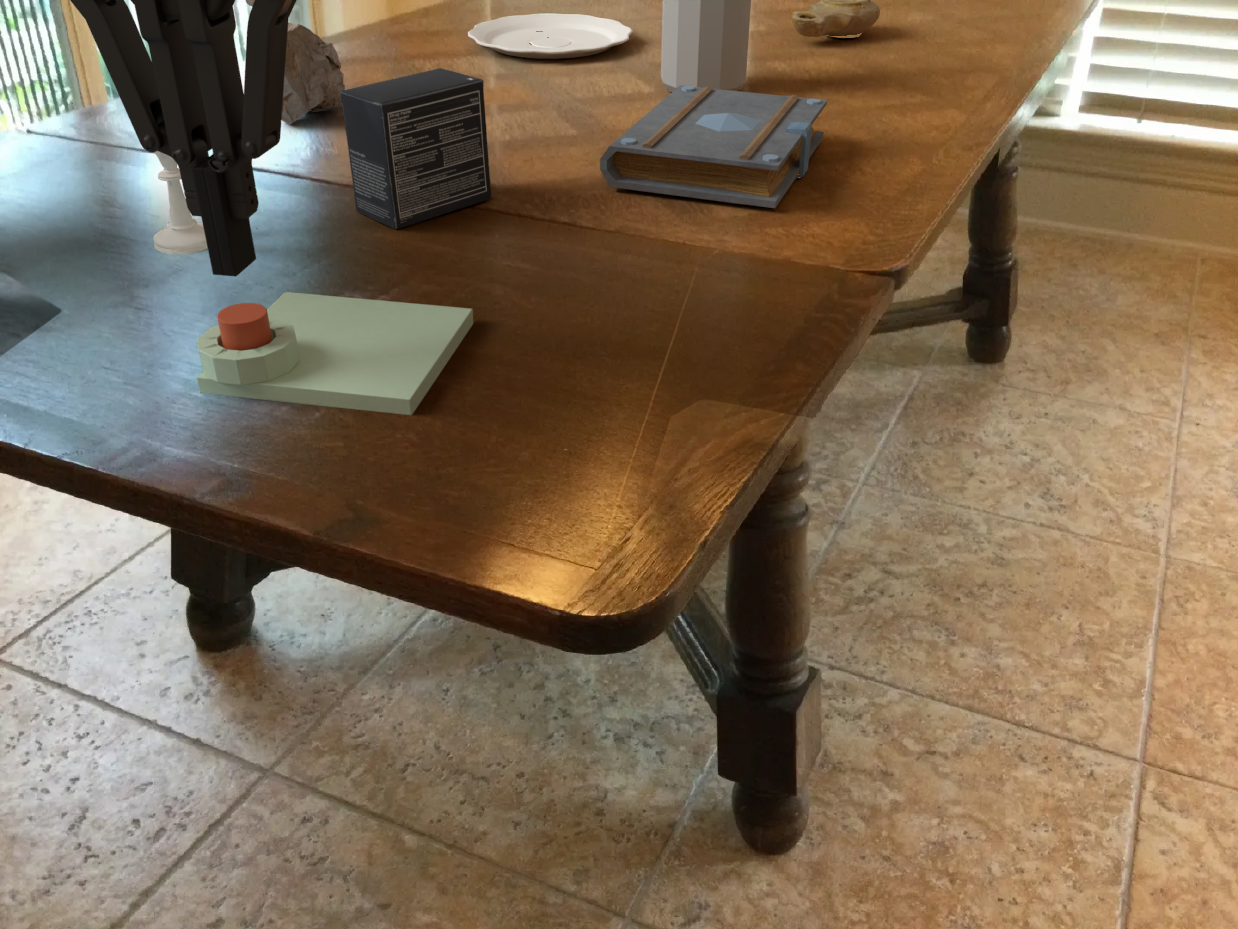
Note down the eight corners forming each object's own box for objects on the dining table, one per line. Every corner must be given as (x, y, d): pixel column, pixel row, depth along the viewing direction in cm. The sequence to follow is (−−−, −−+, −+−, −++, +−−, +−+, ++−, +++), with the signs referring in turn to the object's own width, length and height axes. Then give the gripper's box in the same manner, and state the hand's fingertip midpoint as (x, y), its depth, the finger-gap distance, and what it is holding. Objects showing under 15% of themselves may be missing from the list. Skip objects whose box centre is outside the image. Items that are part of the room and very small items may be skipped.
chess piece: (142, 243, 93) (113, 119, 88) (197, 226, 96) (173, 105, 91) (173, 260, 90) (146, 132, 85) (229, 242, 93) (206, 118, 88)
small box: (449, 181, 106) (441, 64, 100) (495, 200, 102) (488, 78, 96) (351, 210, 100) (336, 86, 94) (396, 231, 96) (382, 103, 90)
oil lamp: (785, 48, 149) (789, 7, 146) (802, 24, 160) (806, -15, 158) (869, 54, 146) (874, 12, 144) (880, 29, 158) (885, -10, 155)
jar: (725, 74, 138) (734, -92, 128) (759, 96, 130) (771, -79, 120) (648, 81, 135) (651, -88, 125) (677, 104, 127) (683, -75, 117)
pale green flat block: (189, 396, 72) (180, 354, 71) (281, 306, 84) (275, 267, 82) (409, 419, 70) (404, 376, 69) (473, 323, 81) (471, 284, 80)
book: (670, 124, 121) (671, 75, 118) (827, 142, 116) (832, 91, 113) (600, 190, 104) (599, 134, 101) (779, 213, 100) (784, 156, 97)
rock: (357, 133, 127) (329, 49, 127) (356, 86, 115) (325, -7, 116) (275, 153, 124) (247, 66, 125) (265, 106, 113) (234, 12, 114)
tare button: (214, 350, 72) (208, 321, 71) (236, 329, 74) (230, 300, 73) (259, 355, 72) (253, 325, 70) (280, 333, 74) (275, 304, 73)
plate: (490, 23, 160) (490, 10, 159) (640, 29, 157) (640, 16, 156) (451, 60, 142) (450, 46, 141) (619, 68, 140) (619, 53, 139)
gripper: (304, -181, 59) (359, 251, 72) (73, -185, 61) (167, 236, 74) (236, -169, 53) (310, 301, 66) (-17, -174, 55) (102, 283, 68)
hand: (234, 266), depth 70 cm, fingers closed
